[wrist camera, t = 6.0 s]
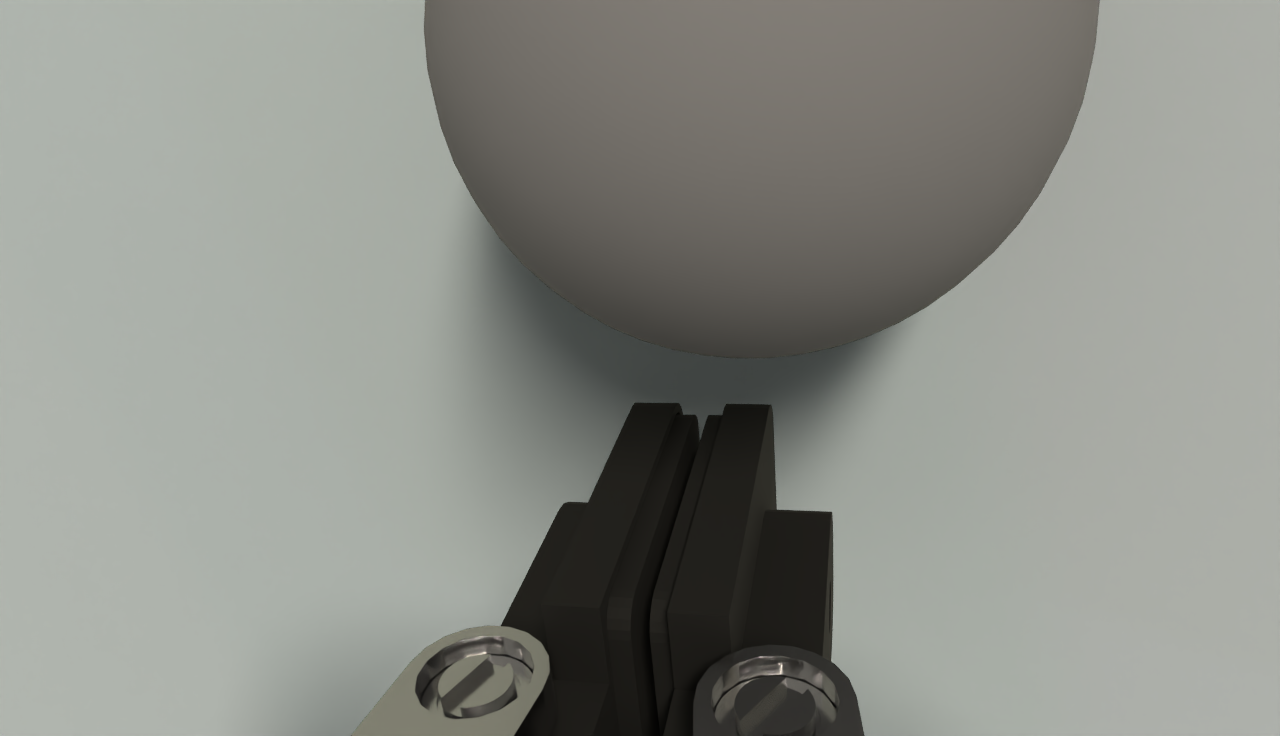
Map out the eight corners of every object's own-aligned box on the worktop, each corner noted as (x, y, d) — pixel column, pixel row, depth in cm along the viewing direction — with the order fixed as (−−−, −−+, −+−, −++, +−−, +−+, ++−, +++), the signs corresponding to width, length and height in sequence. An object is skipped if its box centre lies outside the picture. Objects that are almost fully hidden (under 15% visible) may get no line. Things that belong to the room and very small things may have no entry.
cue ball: (226, -284, 5) (459, -382, 9) (411, 479, 8) (515, 159, 13) (1400, -288, 4) (1079, -387, 9) (1069, 507, 8) (954, 169, 12)
